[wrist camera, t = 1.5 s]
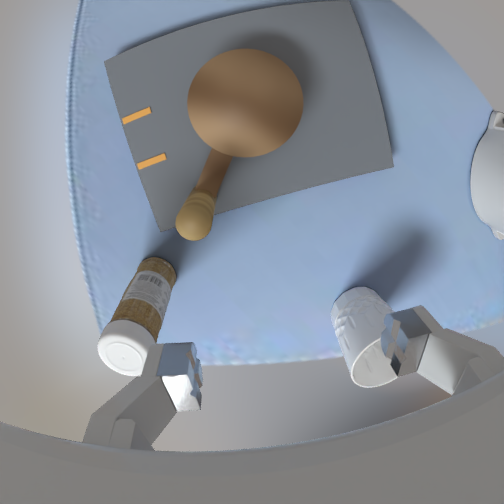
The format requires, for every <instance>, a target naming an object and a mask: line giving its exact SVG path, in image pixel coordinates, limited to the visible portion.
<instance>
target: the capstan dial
mask: <svg viewBox="0 0 504 504" xmlns="http://www.w3.org/2000/svg"><path fill="white" fill-rule="evenodd" d="M187 109H188V114H189V118H190V121H191V124H192V126H193V128H194V130H195V131H196V132H197V134H198V135H199V137H200V138H201V139H202V140H203V141H204V142H205V143H207V144H208V145H209V146H210V147H212V149H211V151H210V154H209V156H208V158H207V161H206V163H205V166H204V168H203V170H202V173H201V175H200V178H199V180H198V183H197V185H196V186H195V187H194V188H193V189H192V191H191V193H190V194H189V196H188V198H187V199H186V201H185V203H184V204H183V206H182V208H181V210H180V211H179V213H178V215H177V217H176V221H175V224H176V229H177V231H178V232H179V234H180V235H181V236H182V237H184V238H185V239H188V240H192V241H196V240H200V239H203V238H204V237H206V236H207V235H208V233H209V232H210V230H211V226H212V221H213V215H214V210H215V205H216V200H217V192H218V190H219V188H220V185H221V183H222V181H223V178H224V176H225V174H226V171H227V169H228V167H229V165H230V162H231V160H232V158H233V156H235V157H255V156H260V155H264V154H267V153H269V152H271V151H274V150H275V149H277V148H279V147H280V146H281V145H283V144H284V143H285V142H286V141H287V140H288V139H289V138H290V137H291V136H292V135H293V133H294V132H295V130H296V129H297V127H298V125H299V122H300V120H301V117H302V113H303V93H302V89H301V86H300V83H299V81H298V79H297V77H296V76H295V74H294V73H293V71H292V70H291V69H290V68H289V67H288V66H287V65H286V64H285V63H284V62H283V61H282V60H280V59H279V58H277V57H276V56H274V55H272V54H270V53H267V52H264V51H261V50H256V49H235V50H230V51H227V52H224V53H221V54H219V55H217V56H215V57H214V58H212V59H211V60H209V61H208V62H207V63H205V64H204V65H203V66H202V67H201V68H200V70H199V71H198V72H197V74H196V75H195V77H194V79H193V80H192V83H191V85H190V88H189V92H188V98H187Z"/></svg>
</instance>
